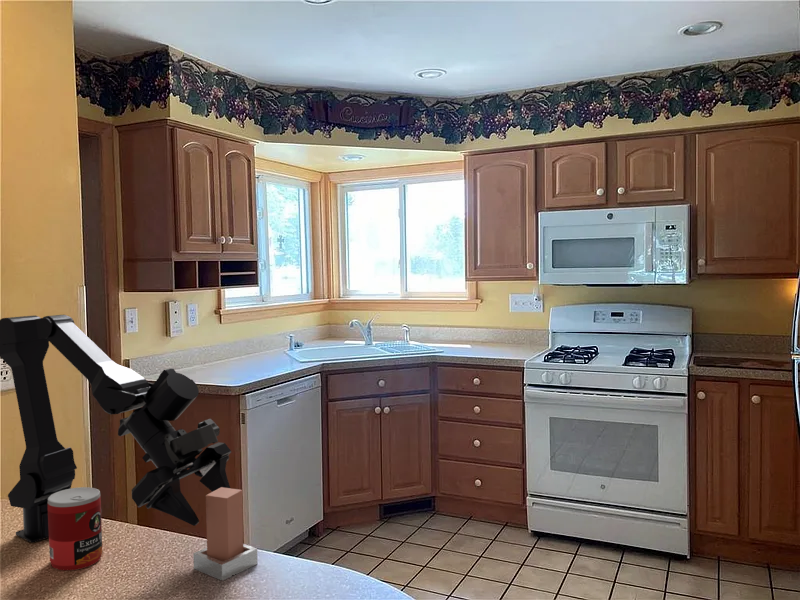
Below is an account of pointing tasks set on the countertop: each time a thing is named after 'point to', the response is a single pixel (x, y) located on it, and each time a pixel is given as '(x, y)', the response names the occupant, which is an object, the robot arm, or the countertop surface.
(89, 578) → the countertop surface
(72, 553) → the canned food
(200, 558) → the gray square planter
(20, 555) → the countertop surface
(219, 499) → the salmon brown rectangular block
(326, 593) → the countertop surface
